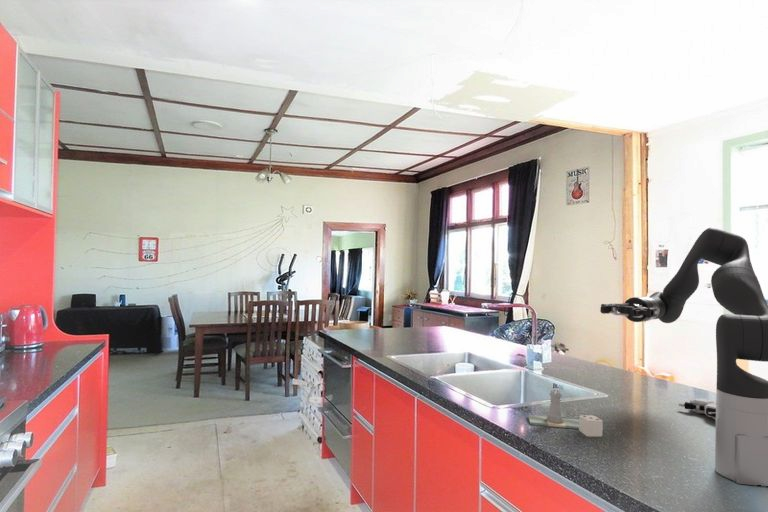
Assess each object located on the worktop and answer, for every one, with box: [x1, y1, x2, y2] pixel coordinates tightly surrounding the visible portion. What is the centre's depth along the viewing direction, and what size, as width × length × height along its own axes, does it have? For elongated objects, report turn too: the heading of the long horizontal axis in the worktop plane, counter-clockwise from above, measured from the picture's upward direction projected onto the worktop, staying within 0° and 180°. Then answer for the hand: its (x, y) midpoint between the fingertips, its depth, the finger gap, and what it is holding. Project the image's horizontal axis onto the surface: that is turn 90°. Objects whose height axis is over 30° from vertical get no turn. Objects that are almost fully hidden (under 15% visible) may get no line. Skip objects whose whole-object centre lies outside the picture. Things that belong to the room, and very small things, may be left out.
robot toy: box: [678, 398, 716, 421], centre depth 135 cm, size 12×4×15 cm
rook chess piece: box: [546, 389, 565, 423], centre depth 125 cm, size 4×4×8 cm
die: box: [578, 414, 604, 438], centre depth 118 cm, size 4×4×4 cm
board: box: [527, 414, 604, 432], centre depth 125 cm, size 6×18×1 cm, turn 79°
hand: (617, 311), depth 133 cm, fingers open, 8 cm apart
